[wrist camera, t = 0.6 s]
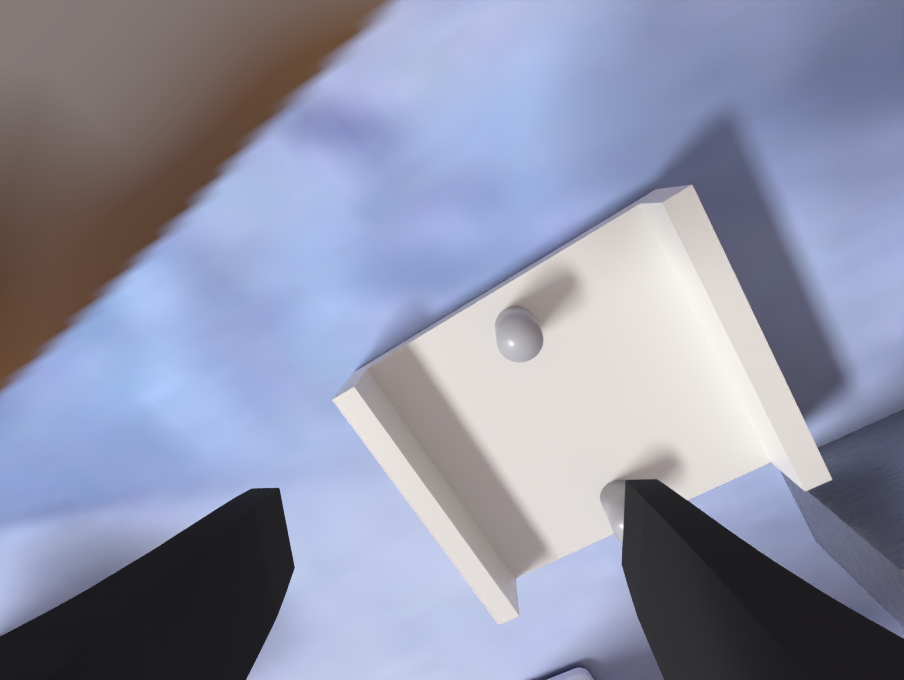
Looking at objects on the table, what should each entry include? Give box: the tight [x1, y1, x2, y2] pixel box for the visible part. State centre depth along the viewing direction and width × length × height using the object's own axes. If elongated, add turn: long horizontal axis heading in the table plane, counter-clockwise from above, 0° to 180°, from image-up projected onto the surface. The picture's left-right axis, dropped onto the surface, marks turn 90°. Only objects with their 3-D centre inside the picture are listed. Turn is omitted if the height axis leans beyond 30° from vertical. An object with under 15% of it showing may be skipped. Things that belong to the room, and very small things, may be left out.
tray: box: [333, 185, 832, 625], centre depth 18 cm, size 12×14×3 cm
